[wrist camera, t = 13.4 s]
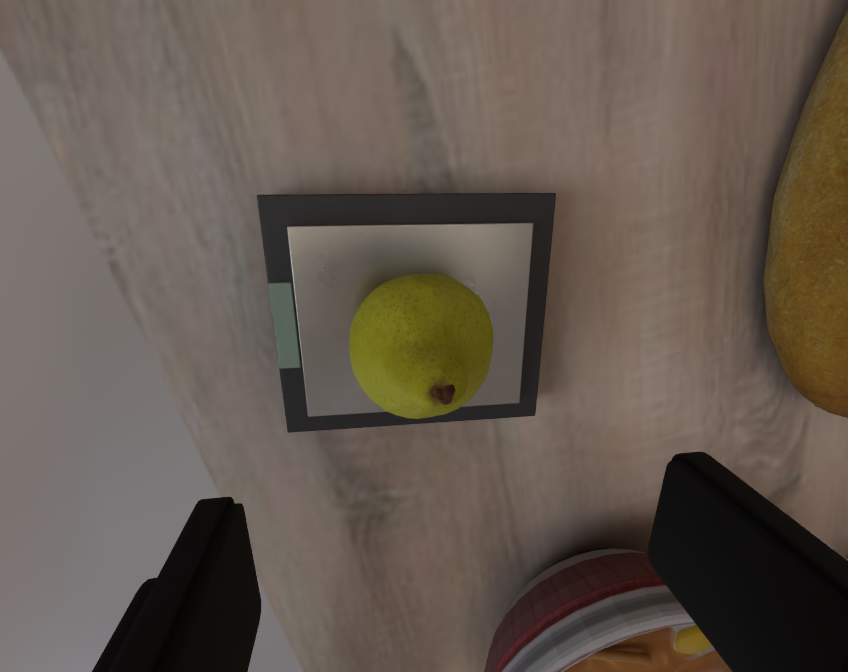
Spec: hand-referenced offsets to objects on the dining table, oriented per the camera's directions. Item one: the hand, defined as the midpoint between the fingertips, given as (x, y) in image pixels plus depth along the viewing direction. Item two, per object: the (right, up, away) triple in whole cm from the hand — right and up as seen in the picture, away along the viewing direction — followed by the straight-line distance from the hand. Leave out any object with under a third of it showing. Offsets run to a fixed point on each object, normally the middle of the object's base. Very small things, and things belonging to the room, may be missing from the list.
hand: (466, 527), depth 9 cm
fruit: (-2, +5, +15) cm, 16 cm away
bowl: (+13, -20, +29) cm, 37 cm away
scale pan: (-1, +5, +15) cm, 16 cm away
